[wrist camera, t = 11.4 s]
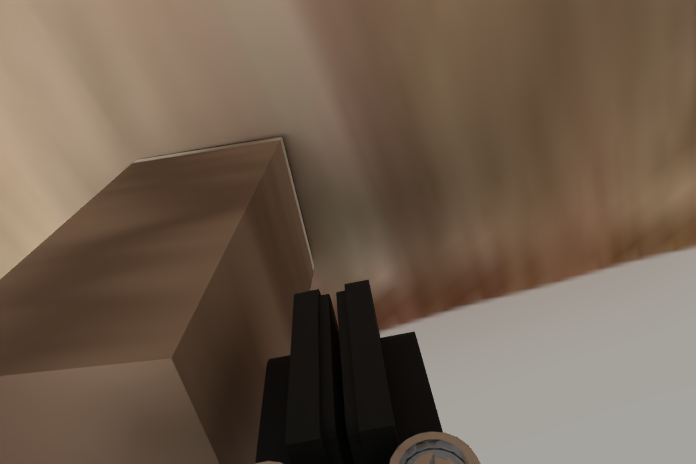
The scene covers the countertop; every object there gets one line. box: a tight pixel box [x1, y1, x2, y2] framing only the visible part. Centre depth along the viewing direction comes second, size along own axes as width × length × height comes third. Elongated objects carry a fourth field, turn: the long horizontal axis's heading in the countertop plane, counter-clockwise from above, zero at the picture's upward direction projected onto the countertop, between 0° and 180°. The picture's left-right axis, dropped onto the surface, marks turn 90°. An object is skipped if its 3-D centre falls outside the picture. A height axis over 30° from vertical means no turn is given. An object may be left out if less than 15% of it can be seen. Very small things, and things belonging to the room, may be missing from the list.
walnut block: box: [0, 137, 314, 464], centre depth 13 cm, size 5×5×10 cm
